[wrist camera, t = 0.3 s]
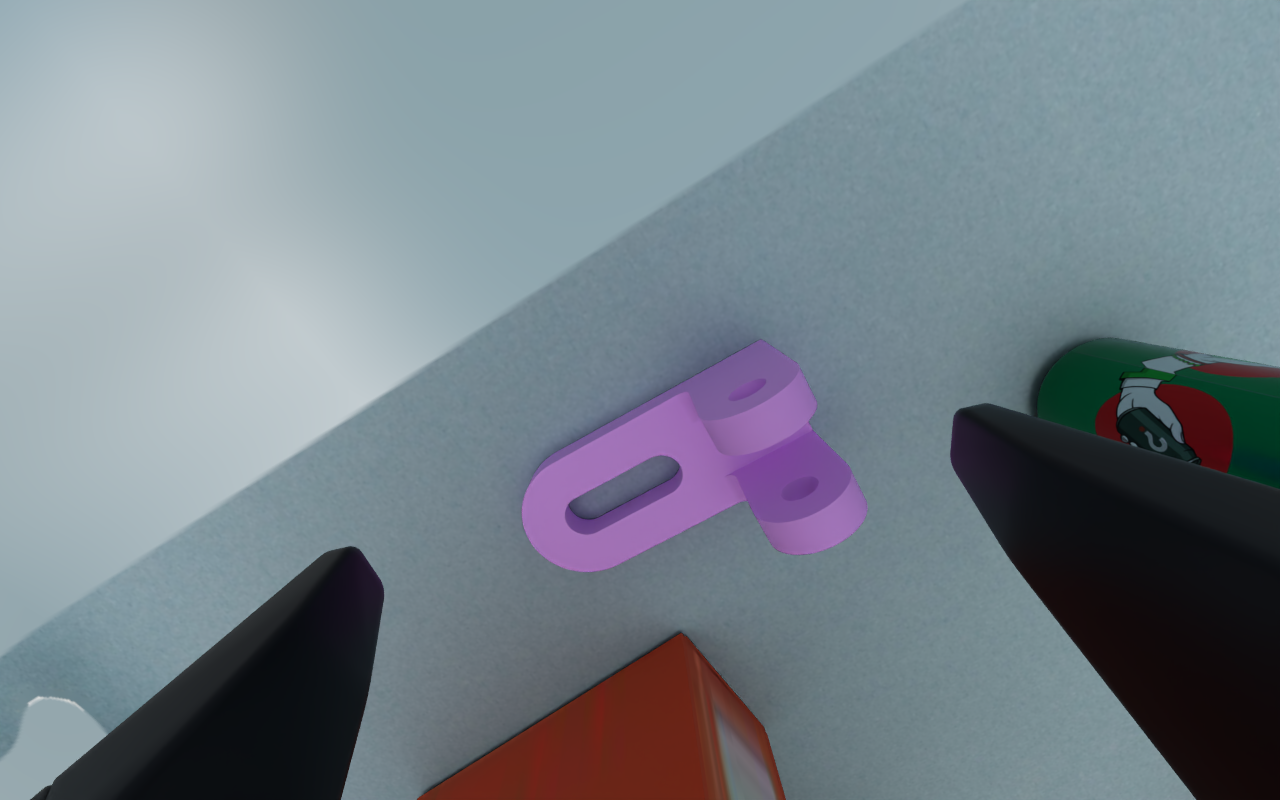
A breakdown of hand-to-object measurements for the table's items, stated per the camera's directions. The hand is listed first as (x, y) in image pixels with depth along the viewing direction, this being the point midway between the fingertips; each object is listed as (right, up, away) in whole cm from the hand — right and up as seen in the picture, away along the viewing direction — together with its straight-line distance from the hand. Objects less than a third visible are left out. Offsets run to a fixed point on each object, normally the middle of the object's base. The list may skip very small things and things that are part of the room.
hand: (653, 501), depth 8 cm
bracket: (+1, -1, +17) cm, 17 cm away
